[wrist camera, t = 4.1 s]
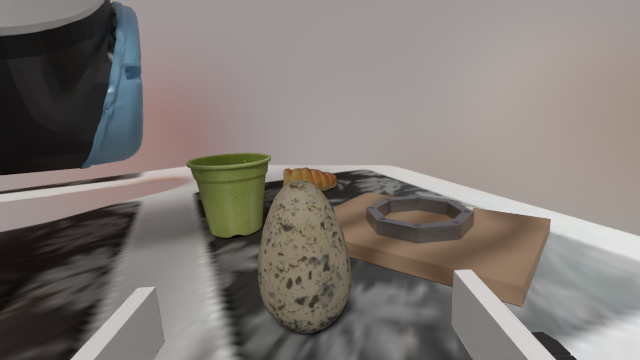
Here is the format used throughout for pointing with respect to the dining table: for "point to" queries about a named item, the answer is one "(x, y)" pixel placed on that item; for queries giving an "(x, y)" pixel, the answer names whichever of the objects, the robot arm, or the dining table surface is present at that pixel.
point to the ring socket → (420, 232)
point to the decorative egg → (303, 260)
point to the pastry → (311, 177)
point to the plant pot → (232, 191)
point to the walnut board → (453, 247)
